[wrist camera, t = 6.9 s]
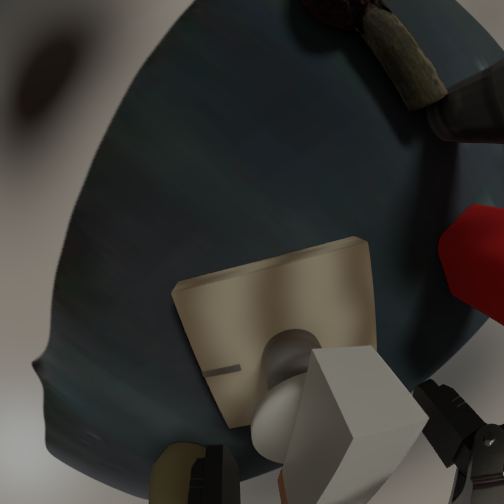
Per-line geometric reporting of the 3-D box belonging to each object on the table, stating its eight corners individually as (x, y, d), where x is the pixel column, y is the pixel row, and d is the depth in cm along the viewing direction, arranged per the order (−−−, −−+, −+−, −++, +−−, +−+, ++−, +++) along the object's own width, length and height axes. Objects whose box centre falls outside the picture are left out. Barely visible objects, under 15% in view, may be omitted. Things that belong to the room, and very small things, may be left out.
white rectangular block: (258, 334, 12) (277, 448, 6) (395, 330, 12) (469, 403, 6) (245, 468, 14) (250, 544, 8) (343, 459, 15) (368, 524, 8)
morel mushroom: (429, 98, 19) (467, 85, 13) (385, 124, 19) (424, 111, 14) (318, -34, 15) (333, -65, 9) (264, -20, 15) (270, -57, 10)
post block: (353, 236, 21) (422, 266, 12) (366, 373, 24) (406, 433, 15) (178, 281, 21) (143, 341, 12) (229, 410, 24) (229, 484, 15)
